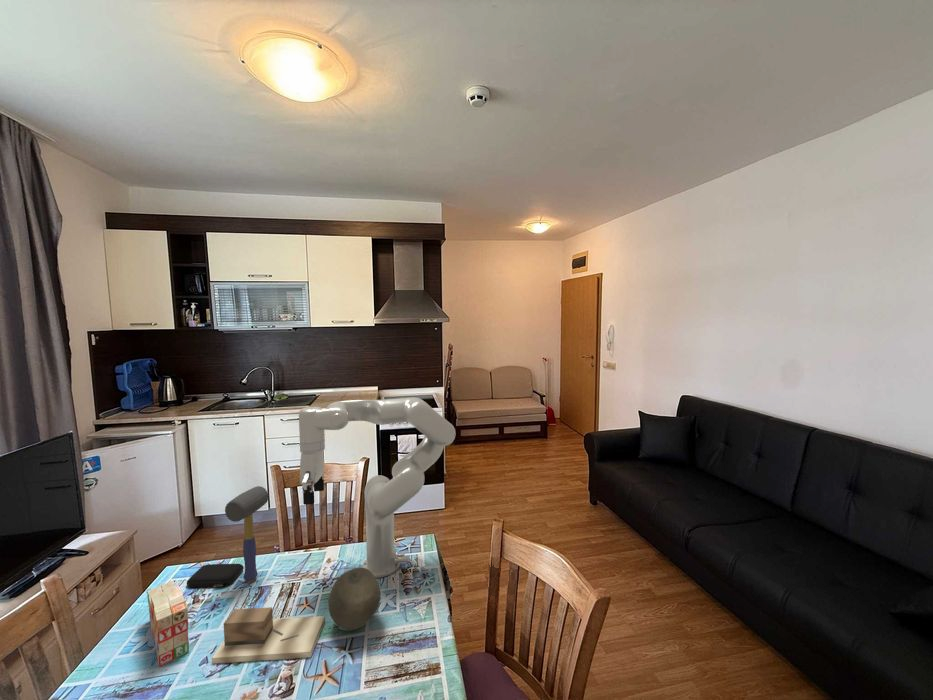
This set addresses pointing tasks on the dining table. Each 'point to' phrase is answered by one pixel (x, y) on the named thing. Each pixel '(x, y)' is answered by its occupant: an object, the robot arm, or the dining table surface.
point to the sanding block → (248, 626)
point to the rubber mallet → (247, 524)
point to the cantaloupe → (354, 598)
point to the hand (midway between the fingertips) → (314, 497)
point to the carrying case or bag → (215, 575)
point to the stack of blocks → (168, 622)
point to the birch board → (277, 642)
